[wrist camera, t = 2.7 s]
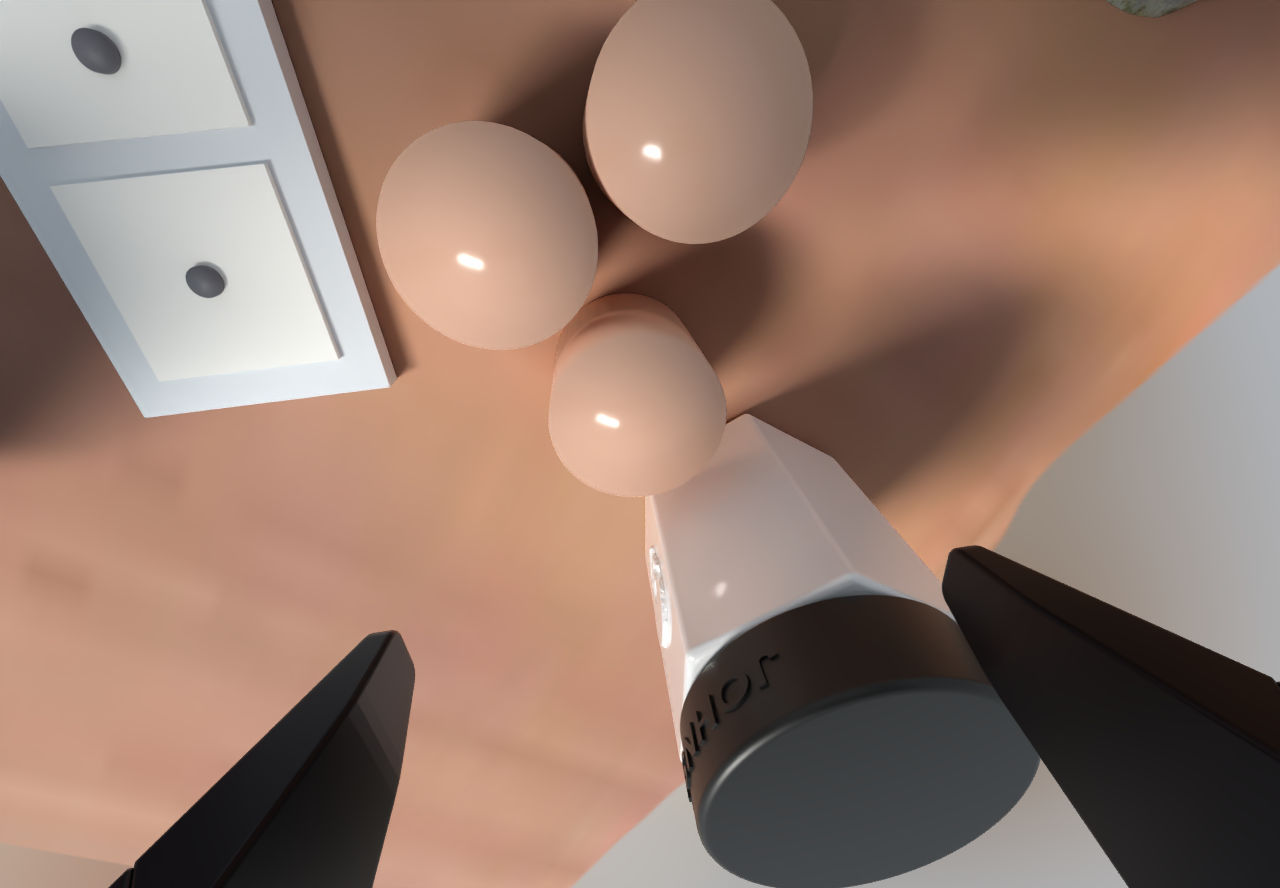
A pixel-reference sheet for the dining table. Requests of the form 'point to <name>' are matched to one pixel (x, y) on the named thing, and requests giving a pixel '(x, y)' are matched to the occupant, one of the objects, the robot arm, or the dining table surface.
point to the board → (185, 200)
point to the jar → (818, 675)
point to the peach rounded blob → (698, 115)
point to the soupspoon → (1150, 6)
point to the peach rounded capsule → (487, 235)
